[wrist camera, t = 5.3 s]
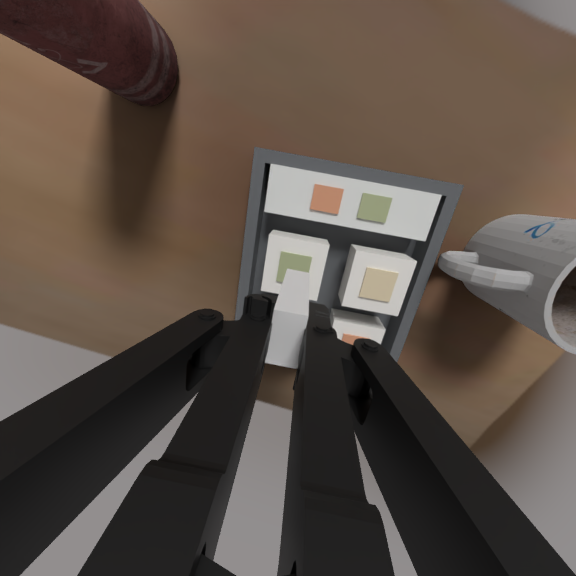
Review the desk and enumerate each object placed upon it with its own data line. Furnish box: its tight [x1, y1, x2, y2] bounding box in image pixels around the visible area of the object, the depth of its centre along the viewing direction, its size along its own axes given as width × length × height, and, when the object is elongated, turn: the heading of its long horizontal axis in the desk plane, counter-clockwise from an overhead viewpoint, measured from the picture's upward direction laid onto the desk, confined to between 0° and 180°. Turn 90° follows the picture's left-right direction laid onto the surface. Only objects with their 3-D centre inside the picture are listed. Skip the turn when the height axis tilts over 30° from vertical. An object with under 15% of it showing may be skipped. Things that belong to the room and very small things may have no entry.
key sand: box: [338, 244, 417, 316], centre depth 23 cm, size 5×5×3 cm
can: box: [0, 0, 178, 106], centre depth 16 cm, size 6×6×14 cm
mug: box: [438, 214, 576, 354], centre depth 21 cm, size 12×9×10 cm
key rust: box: [330, 308, 385, 345], centre depth 27 cm, size 5×5×3 cm
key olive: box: [261, 230, 330, 301], centre depth 24 cm, size 5×5×3 cm
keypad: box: [235, 147, 464, 362], centre depth 26 cm, size 17×20×3 cm
